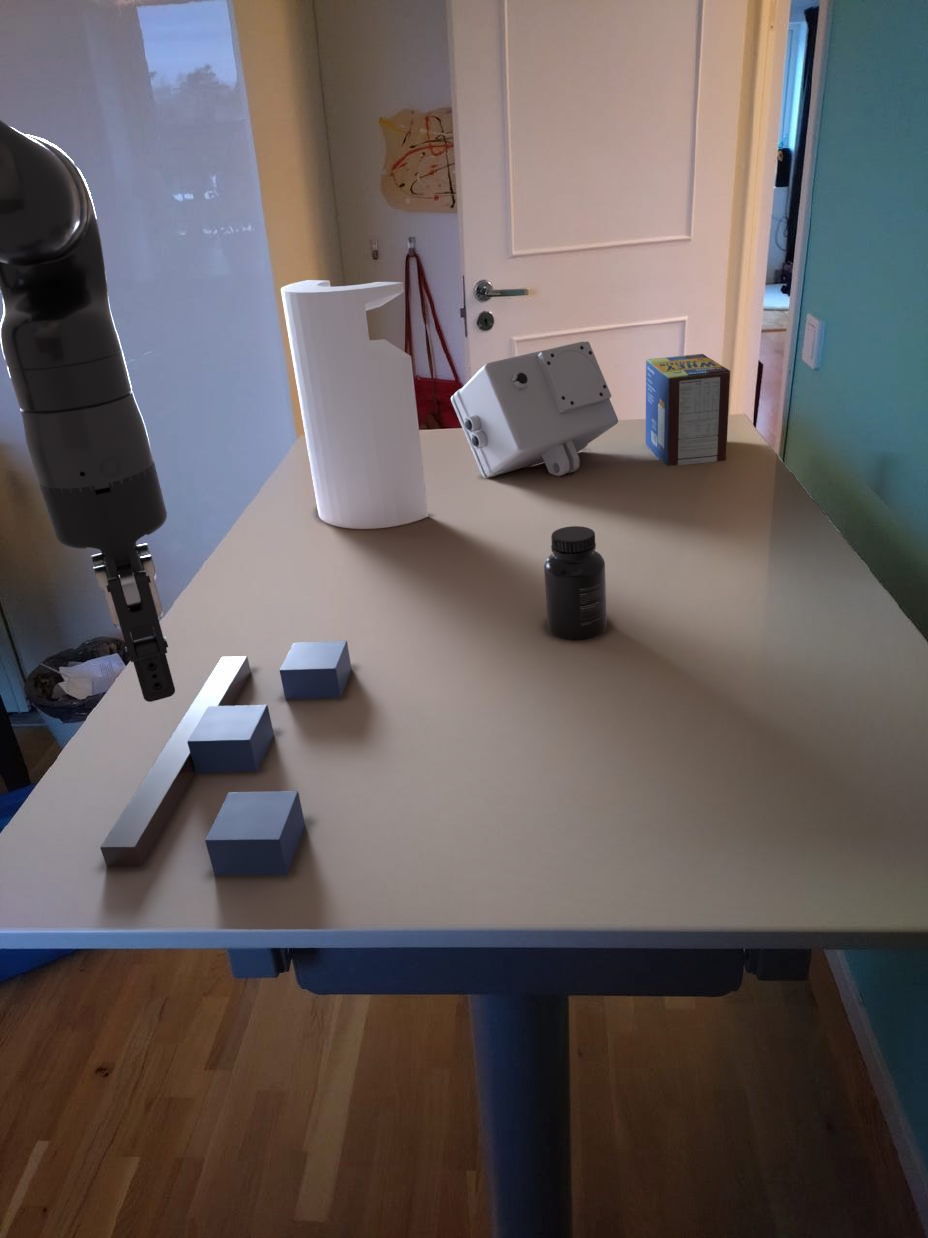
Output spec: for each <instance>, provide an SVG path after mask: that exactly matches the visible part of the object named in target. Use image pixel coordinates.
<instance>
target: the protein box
mask: <svg viewBox="0 0 928 1238" xmlns="http://www.w3.org/2000/svg"><path fill="white" fill-rule="evenodd" d="M730 387H731V370H730V369H728V368H727V367H725V366H723V365H722V364H720V363H718V362H717V361H715V360H713V359H712V358H710V357H709V356H707V355H705V354H704V353H696V354H686V355H677V356H668V357H667V356H666V357H655V358H647V359H645V445H646V446H647V447H648V448H649V449H650V451H652V453H653V454H654V455H655V457H657V459H658V460H660V461H662V463H663V464H664V465H665V466H666V467H671V466H672V467H673V466H682V465H694V464H702V463H703V464H704V463H713V462H715V463H716V462H725V461H727V452H728V451H727V450H728V449H727V448H728V447H727V446H728V429H729V411H730V409H729V408H730Z"/></svg>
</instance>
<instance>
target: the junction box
mask: <svg viewBox="0 0 928 1238" xmlns="http://www.w3.org/2000/svg"><path fill="white" fill-rule="evenodd" d="M611 398H612V393H611V391H610V388H609V387H608V384H607V382H606V379H605V377H604V374H603V373H602V369H601V367H600V365H599V363H598V360H597V358H596V355H595V353H594V351H593V348H592V346H591V343H590V341H588V340H587V341H579V342H574V343H570V344H564V345H560V346H557V347H553V348H547V349H543V350H539V351H534V352H530V353H526V354H522V355H517V356H513V357H512V356H511V357H507V358H503V359H499V360H494V361H491V362H487V363H485V364H484V365H483V366H482V367H480V368H479V369H478V371H476V373H475V374H474V375H473V376H472V377H471V378H470V379H469V380H468V381H467V382H466V383H465V384H464V385H463V386H462V387H461V388H459V389H457V391H455V392H454V394H453V395H451V397H450V402H451V405H452V406H453V409H454V412H455V413H456V416H457V418H458V422H459V424H460V426H461V428H462V430H463V433H464V435H465V438H466V441H467V443H468V445H469V448H470V450H471V453H472V456H473V457H474V460H475V463H476V465H477V467H478V470H479V472H480V474H481V477H482V478H483V479H490V478H494V477H497V476H500V475H504V474H506V473H511V472H513V471H517V470H521V469H524V468H531V467H534V466H537V465H540V464H545V466H546V469H547V471H548V473H549V474H551V475H554V476H556V477H561V476H564V475H566V474H571V473H574V472H576V471H577V470H578V469H579V468H580V456H579V454H578V453H579V452H580V451H581V450H583V449H585V448H587V446H588V445H589V444H590V443H591V442H593V441H594V440H596V439H597V438H598V437H600V436H602V435H603V434H605V433H606V432H607V431H608V430H610V429H612V428H613V427H614V426H616V425H617V424H618V423H619V418H618V416H617V413H616V411H615V409H614V406H613V404H612V402H611V400H610V399H611Z"/></svg>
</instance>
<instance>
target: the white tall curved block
mask: <svg viewBox="0 0 928 1238" xmlns="http://www.w3.org/2000/svg"><path fill="white" fill-rule="evenodd" d="M404 292H405V289H404V282H403V281H402V282H401V281H400V282H399V281H374V282H368V283H360V284H352V285H340V286H339V285H338V286H332V285H331V280H324V279H323V280H322V279H321V280H320V279H318V280H317V279H306V280H301V281H297V282H292V283H288V284H286V285H283V286H282V287H281V288H280V294H281V299H282V304H283V306H282V307H283V311H284V317H285V323H286V328H287V329H286V330H287V334H288V341H289V347H290V353H291V358H292V364H293V369H294V377H295V383H296V389H297V395H298V400H299V401H298V402H299V407H300V412H301V418H302V425H303V430H304V435H305V436H304V437H305V443H306V448H307V455H308V461H309V466H310V473H311V478H312V484H313V490H314V491H313V492H314V496H315V501H316V508H317V514H318V517H319V518H320V519H321V521H323V522H325V523H326V524H328V525H331V526H334V527H338V528H344V529H345V528H346V529H352V530H353V529H356V530H372V529H375V530H376V529H385V528H390V527H398V526H403V525H408V524H411V523H414V522H417V521H420V520H423V519H426V518H428V517H429V511H428V501H427V491H426V483H425V482H426V481H425V473H424V464H423V463H424V462H423V453H422V446H421V445H422V444H421V437H420V436H421V435H420V426H419V418H418V417H419V416H418V407H417V399H416V390H415V381H414V379H415V378H414V371H413V362H412V356H411V355H410V354H408V353H407V352H405V351H404V350H402V349H400V348H399V347H397V345H394V344H393V343H391V342H389V340H386V339H385V338H381V339H370V334H369V325H368V317H367V311H370V310H373V309H378V308H381V307H382V306H384V305H385V304H387V303H388V302H390V301H392V300H394V299H395V298H397V297H398V296H400V295H401V294H403V293H404Z"/></svg>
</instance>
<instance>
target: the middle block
mask: <svg viewBox="0 0 928 1238" xmlns="http://www.w3.org/2000/svg"><path fill="white" fill-rule="evenodd" d="M274 736H275V733H274V728H273V723H272V718H271V714H270V710H269V706H268V704H250V705H248V704H242V705H241V704H240V705H239V704H238V705H232V706H209V707H208V708H207V710H206V711H205V713H204V715H203V716H202V718H201V720H200V721H199V723H198V725H197V726H196V728H195V730H194V731H193V733H192V735H191V736H190V738H189V740H188V741H187V743H188V746H189V750H190V754H191V757H192V761H193V765H194V769H195V772H194V773H196V774H198V773H199V774H201V773H203V774H204V773H205V774H206V773H248V772H249V773H250V772H258V771H259V769H260V766H261V764H262V762H263V760H264V758H265V755H266V754H267V751H268V749H269V747H270V745H271V742H272V740H273V738H274Z"/></svg>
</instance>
